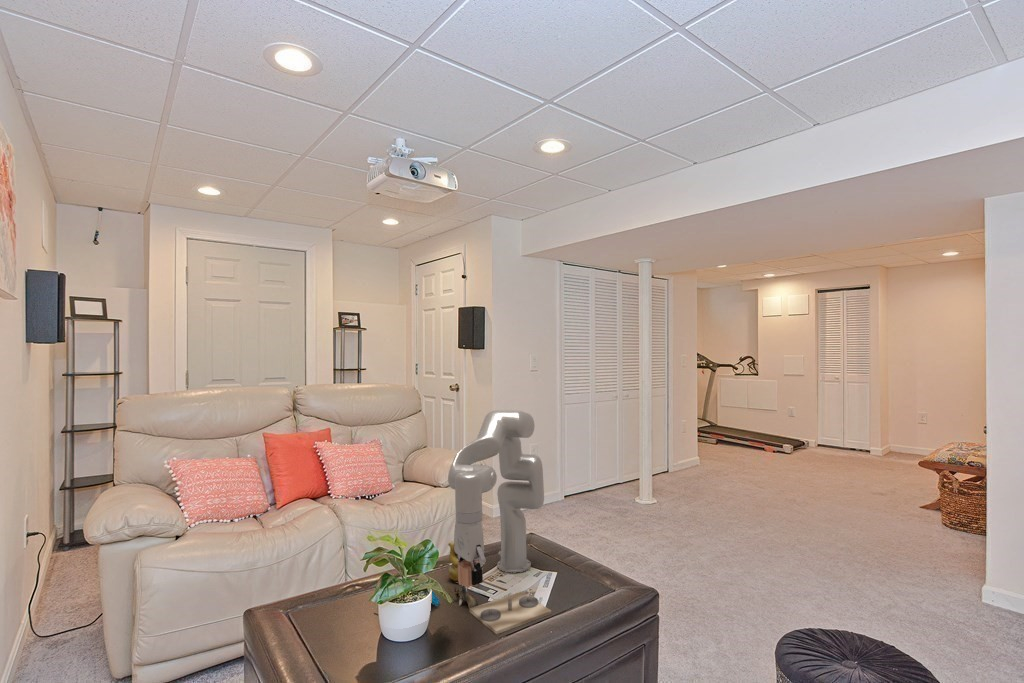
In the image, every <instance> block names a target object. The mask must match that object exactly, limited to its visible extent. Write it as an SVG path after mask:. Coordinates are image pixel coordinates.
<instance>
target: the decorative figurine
mask: <svg viewBox="0 0 1024 683" xmlns="http://www.w3.org/2000/svg"><path fill="white" fill-rule="evenodd" d="M447 546H449V548H450V551H449V561H450V563H451V564H450V565H449V567H448V573H449V574H448V576H449V579H451V580H452V581H454V582H455V581H456V582H459V581H458V554H457V553H455V551H454V541H450V542H448V544H447ZM456 582H455V583H456Z"/></svg>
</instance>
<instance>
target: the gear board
mask: <svg viewBox="0 0 1024 683" xmlns="http://www.w3.org/2000/svg"><path fill="white" fill-rule="evenodd" d="M468 609H469V608H468ZM468 611H469V614H471V615H473V616H474V617H475V618H476V619H477V620H478V621H480V622H481V623H482V624H483V625H484V626H485V627H487V628H488V629H489V630H490V631H492V632H493V633H494V634H495V635H499V634H501V633H505V632H507V631H510V630H512V629H515V628H518V627H520V626H523V625H525V624H528V623H532V622H534V621H536V620H540V619H541V618H545V617H547V616H550V615H552V610H551V609H550V608H548V607H546V606H545V605H544V604H542V603H541V602H539V600H538V598H536V597H535V596H530V595H529V594H527V593H526V592H524V591H522V590H521V591H518V592H515V593H513V594H509V595H505V596H503V597H500V598H496V599H495V600H490V601H488V602H486V603H482V604H478V606H476V607H473V608H470V609H469V610H468Z"/></svg>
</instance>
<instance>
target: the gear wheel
mask: <svg viewBox="0 0 1024 683" xmlns="http://www.w3.org/2000/svg"><path fill="white" fill-rule="evenodd" d="M477 563H478V560H477V561H475V565H476V564H477ZM472 570H473V568H472V564H471V562H468V561H466V560H465V559H464V560H463V561H461V562H459V563H458V581H459V583H458V585H459V586H462V585H463V586H465V587H466V588H469V587H477V586H479V584H477V585H474V586H473V585H472V576H471V571H472ZM483 570H484V568H483V569H482V576H484V571H483Z"/></svg>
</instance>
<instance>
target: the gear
mask: <svg viewBox="0 0 1024 683" xmlns="http://www.w3.org/2000/svg"><path fill="white" fill-rule="evenodd" d="M440 603H441V602H440V600H439V597H438V596H436V593H435V592H434V591H432V603H431V604H432V605H434V606H436V607H438V606H439V605H440Z"/></svg>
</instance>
